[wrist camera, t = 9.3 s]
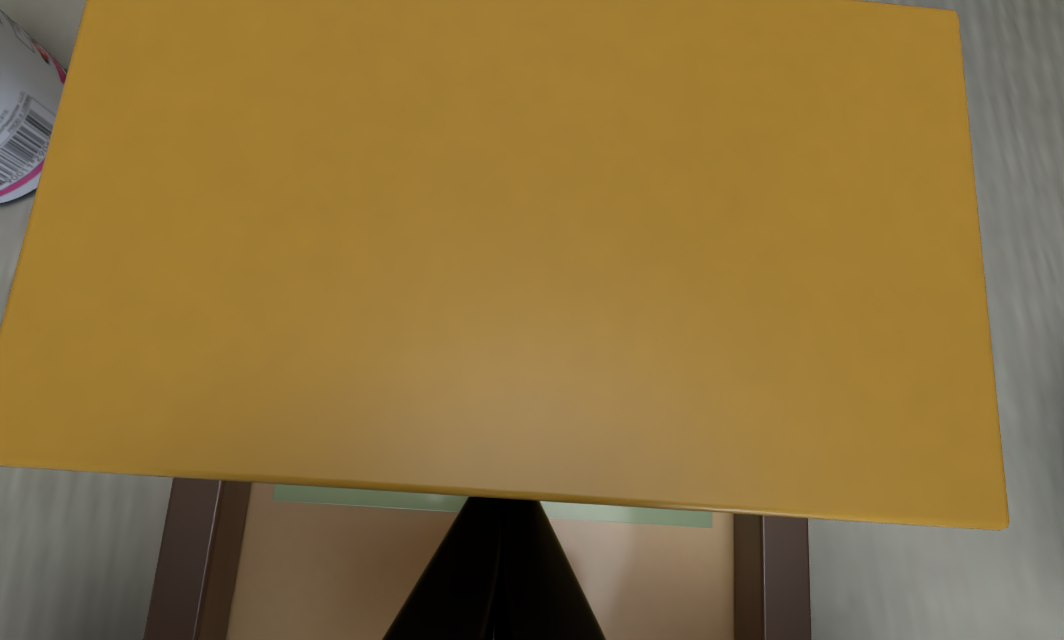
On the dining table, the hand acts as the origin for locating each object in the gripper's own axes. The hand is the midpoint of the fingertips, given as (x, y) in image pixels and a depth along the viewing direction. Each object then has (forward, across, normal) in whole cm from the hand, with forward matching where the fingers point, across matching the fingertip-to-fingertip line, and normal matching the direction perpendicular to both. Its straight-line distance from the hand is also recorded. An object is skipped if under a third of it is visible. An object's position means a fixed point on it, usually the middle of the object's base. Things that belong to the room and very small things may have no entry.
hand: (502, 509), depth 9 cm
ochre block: (+6, 0, +1) cm, 6 cm away
